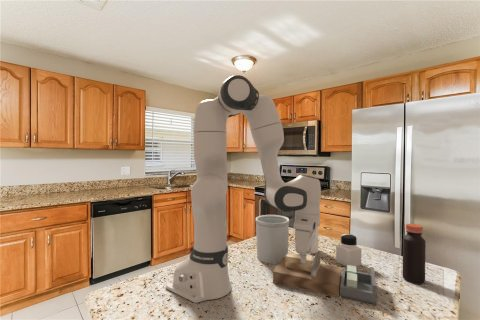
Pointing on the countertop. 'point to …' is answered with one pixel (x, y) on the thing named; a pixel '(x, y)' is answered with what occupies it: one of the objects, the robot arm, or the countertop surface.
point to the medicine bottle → (348, 251)
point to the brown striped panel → (324, 281)
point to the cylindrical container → (315, 243)
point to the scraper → (310, 265)
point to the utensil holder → (272, 238)
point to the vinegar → (414, 254)
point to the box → (360, 287)
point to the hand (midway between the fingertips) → (305, 257)
